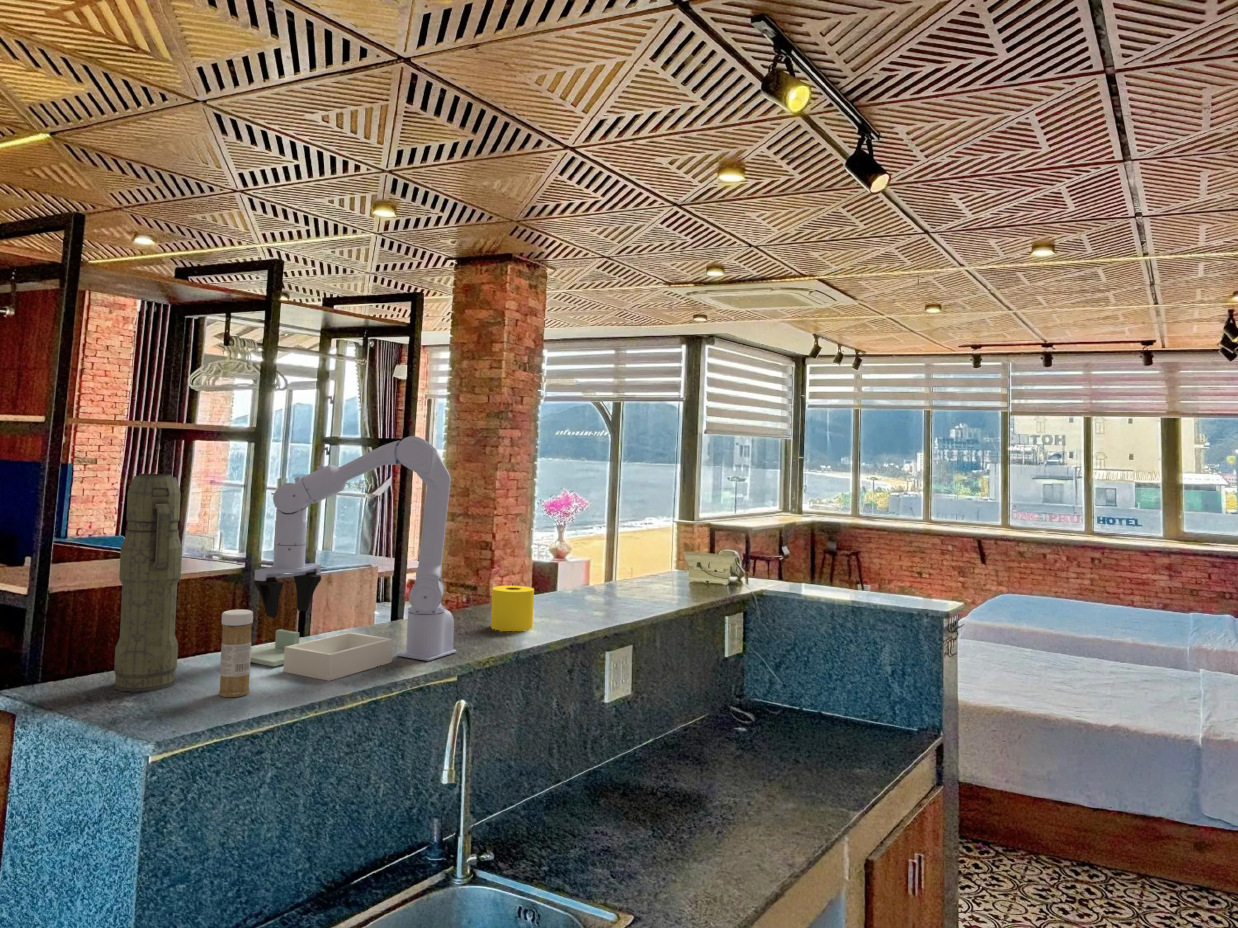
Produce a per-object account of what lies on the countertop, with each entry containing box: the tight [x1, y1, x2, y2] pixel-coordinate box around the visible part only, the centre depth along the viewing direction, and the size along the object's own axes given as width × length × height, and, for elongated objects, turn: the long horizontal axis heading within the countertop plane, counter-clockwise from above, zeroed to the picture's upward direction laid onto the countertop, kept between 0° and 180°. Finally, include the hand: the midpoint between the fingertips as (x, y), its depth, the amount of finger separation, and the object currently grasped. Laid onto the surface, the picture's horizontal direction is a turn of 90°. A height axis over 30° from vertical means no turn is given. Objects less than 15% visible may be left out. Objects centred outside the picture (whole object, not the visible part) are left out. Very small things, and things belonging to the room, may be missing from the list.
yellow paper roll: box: [490, 585, 535, 632], centre depth 190 cm, size 10×10×9 cm
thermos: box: [113, 473, 183, 693], centre depth 131 cm, size 9×12×35 cm
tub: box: [283, 631, 394, 682], centre depth 147 cm, size 16×11×4 cm
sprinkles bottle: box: [218, 609, 254, 698], centre depth 128 cm, size 5×5×14 cm
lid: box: [250, 628, 312, 667], centre depth 154 cm, size 17×12×5 cm
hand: (287, 613), depth 154 cm, fingers open, 7 cm apart
